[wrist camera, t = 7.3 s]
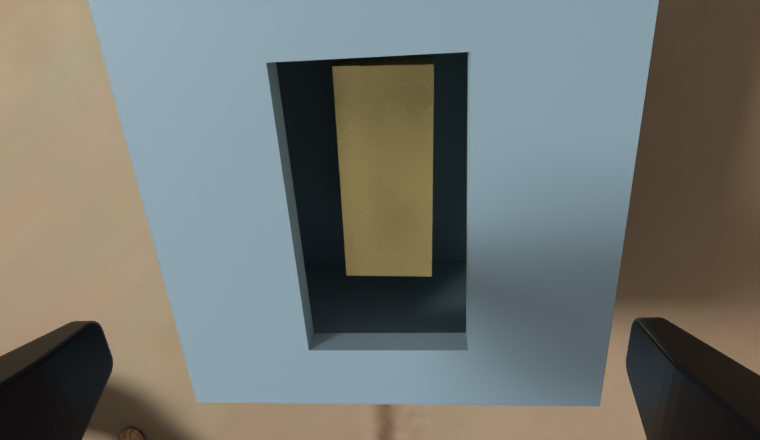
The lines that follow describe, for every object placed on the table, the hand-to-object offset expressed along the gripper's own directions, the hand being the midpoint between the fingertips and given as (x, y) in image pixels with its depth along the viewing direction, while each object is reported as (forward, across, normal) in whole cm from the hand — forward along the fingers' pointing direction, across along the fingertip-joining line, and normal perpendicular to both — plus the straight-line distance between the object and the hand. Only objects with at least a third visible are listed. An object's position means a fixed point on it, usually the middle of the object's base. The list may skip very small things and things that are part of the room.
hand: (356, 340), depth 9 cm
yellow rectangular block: (+11, 0, 0) cm, 11 cm away
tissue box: (+12, 0, 0) cm, 12 cm away
